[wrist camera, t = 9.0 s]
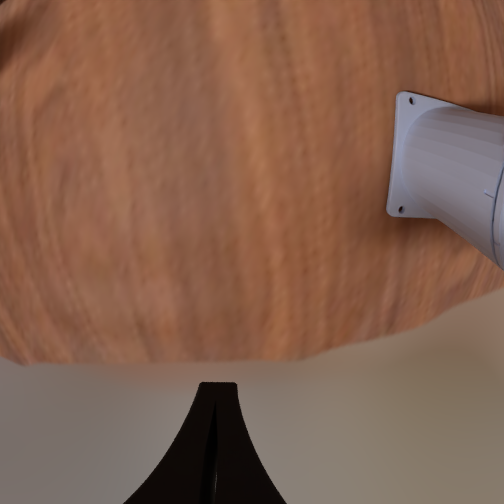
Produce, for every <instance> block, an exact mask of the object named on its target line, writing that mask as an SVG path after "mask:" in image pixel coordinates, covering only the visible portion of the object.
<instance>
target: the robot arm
mask: <svg viewBox="0 0 504 504" xmlns="http://www.w3.org/2000/svg"><path fill="white" fill-rule="evenodd" d="M410 97H411V98H412V99H413V103H412V104H410V102H409V98H410ZM401 206H402V210H401V211H400V212H398V209H399V207H401ZM386 211H387V213H388V214H389V215H391V216H393V217H412V218H434V219H438V220H439V221H441V222H442V223H444V224H445V225H446V226H448V227H449V228H450V229H452V230H453V231H455V232H456V233H457V234H459V235H460V236H461V237H462V238H464V239H465V240H466V241H468V242H469V243H470V244H472V245H473V246H474V247H475V248H477V249H478V250H479V251H480V252H482V253H483V254H484V255H485V256H486V257H488V258H489V259H490V260H491V261H492V262H494V263H495V264H496V265H497V266H498V267H500V268H501V269H502V270H503V271H504V117H503V116H498V115H493V114H487V113H480V112H476V111H473V110H470V109H467V108H464V107H461V106H458V105H455V104H451V103H448V102H445V101H441V100H438V99H434V98H430V97H426V96H423V95H418V94H414V93H410V92H406V91H403V92H399V93H398V94H397V96H396V113H395V131H394V145H393V156H392V166H391V176H390V184H389V192H388V199H387V206H386ZM216 475H217V477H216ZM215 485H216V490H215ZM123 504H287V503H286V502H285V501H284V499H283V498H282V496H281V495H280V493H279V492H278V491H277V489H276V487H275V486H274V484H273V483H272V481H271V479H270V478H269V476H268V474H267V472H266V470H265V469H264V467H263V465H262V463H261V461H260V459H259V457H258V455H257V453H256V451H255V449H254V446H253V444H252V441H251V439H250V437H249V434H248V431H247V428H246V425H245V422H244V420H243V416H242V412H241V409H240V404H239V399H238V390H237V384H236V383H234V382H201V383H200V384H199V387H198V390H197V393H196V396H195V399H194V401H193V404H192V406H191V408H190V411H189V413H188V415H187V417H186V419H185V421H184V423H183V425H182V427H181V429H180V431H179V432H178V434H177V436H176V438H175V439H174V441H173V443H172V444H171V446H170V448H169V449H168V451H167V452H166V454H165V455H164V457H163V459H162V460H161V461H160V462H159V464H158V465H157V467H156V468H155V469H154V471H153V472H152V473H151V474H150V475H149V477H148V478H147V479H146V480H145V482H144V483H143V484H142V485H141V486H140V487H139V488H138V489H137V490H136V491H135V492H134V493H133V494H132V495H131V496H130V498H128V499H127V500H126V502H124V503H123Z"/></svg>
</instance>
